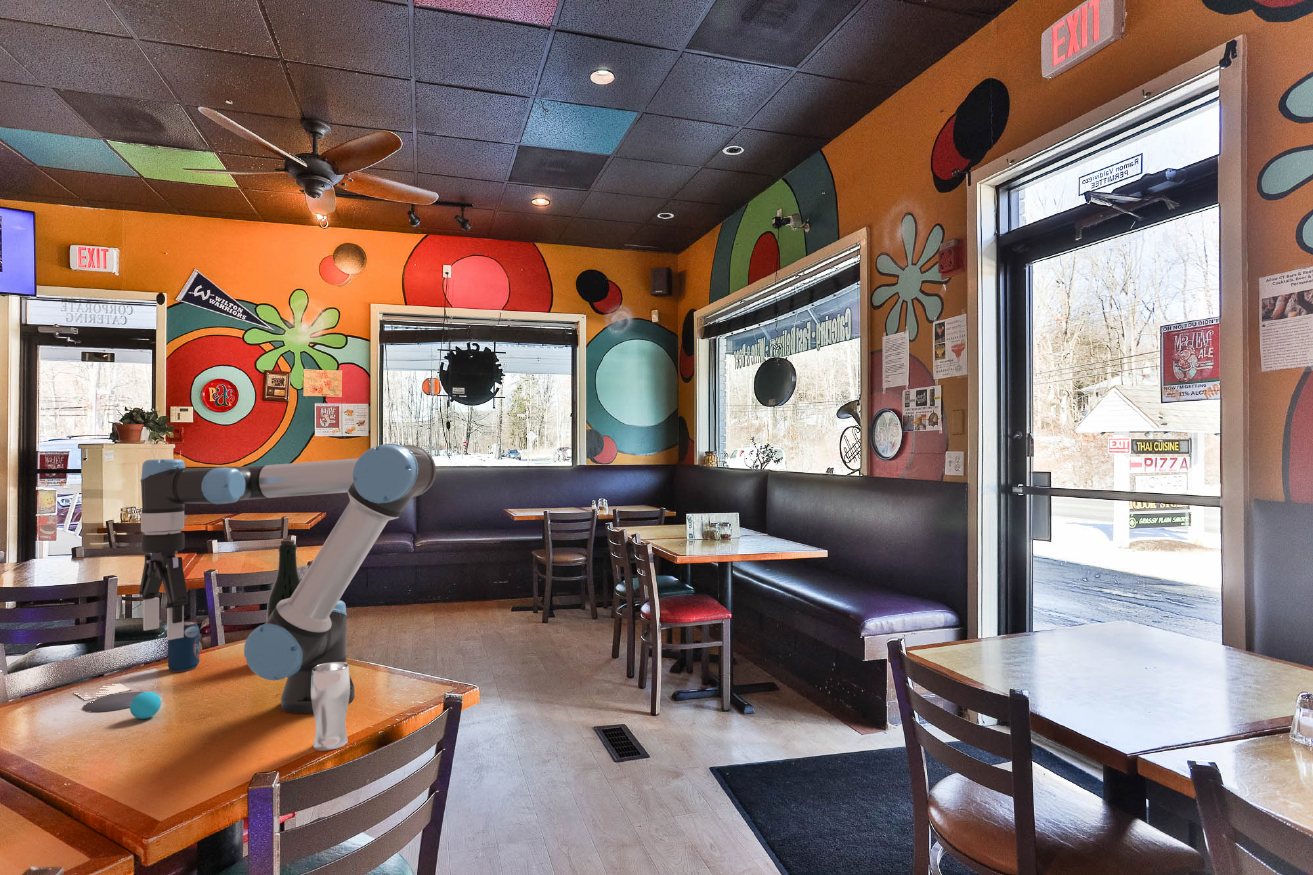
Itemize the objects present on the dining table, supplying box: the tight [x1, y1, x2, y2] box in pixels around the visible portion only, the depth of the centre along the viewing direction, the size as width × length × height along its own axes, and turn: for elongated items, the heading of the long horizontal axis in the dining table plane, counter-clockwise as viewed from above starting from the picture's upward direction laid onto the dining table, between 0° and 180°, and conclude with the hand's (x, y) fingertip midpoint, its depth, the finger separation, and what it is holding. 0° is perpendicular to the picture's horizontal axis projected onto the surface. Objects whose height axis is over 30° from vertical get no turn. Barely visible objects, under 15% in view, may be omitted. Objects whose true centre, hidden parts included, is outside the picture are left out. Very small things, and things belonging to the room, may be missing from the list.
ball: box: [129, 691, 162, 720], centre depth 154 cm, size 6×6×6 cm
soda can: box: [167, 620, 200, 673], centre depth 190 cm, size 7×7×12 cm
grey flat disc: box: [82, 691, 144, 713], centre depth 164 cm, size 13×13×1 cm
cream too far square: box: [73, 682, 132, 701], centre depth 171 cm, size 9×9×1 cm
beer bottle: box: [266, 539, 301, 621], centre depth 197 cm, size 10×10×33 cm
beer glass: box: [311, 662, 351, 752], centre depth 139 cm, size 7×7×15 cm
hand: (163, 633), depth 150 cm, fingers open, 13 cm apart
